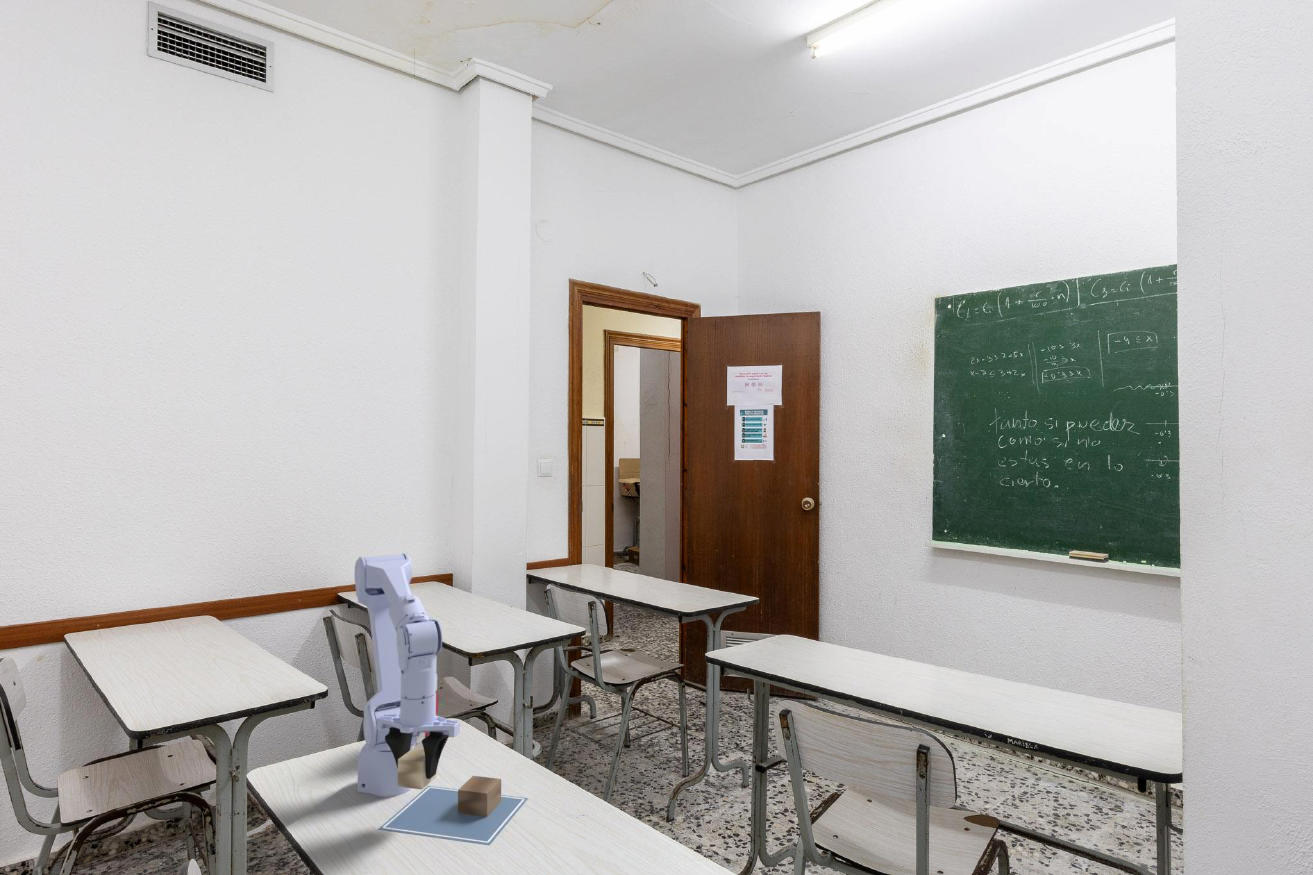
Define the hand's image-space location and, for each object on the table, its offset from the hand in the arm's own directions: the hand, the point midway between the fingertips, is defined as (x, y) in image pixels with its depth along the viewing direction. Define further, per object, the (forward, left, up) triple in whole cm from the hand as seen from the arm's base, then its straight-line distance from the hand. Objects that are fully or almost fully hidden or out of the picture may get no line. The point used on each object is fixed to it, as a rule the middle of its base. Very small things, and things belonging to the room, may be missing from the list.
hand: (417, 774), depth 120 cm
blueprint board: (+5, +4, -9) cm, 11 cm away
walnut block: (+8, +7, -8) cm, 13 cm away
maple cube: (0, 0, -1) cm, 1 cm away
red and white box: (-17, +28, -9) cm, 34 cm away
